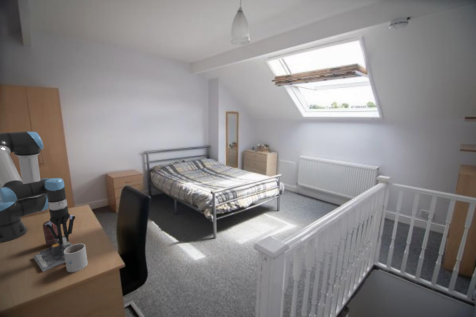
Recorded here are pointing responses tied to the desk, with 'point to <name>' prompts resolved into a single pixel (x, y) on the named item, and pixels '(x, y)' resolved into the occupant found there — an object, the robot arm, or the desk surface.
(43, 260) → the panel
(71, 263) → the mug
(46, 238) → the can
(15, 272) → the desk surface
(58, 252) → the block
